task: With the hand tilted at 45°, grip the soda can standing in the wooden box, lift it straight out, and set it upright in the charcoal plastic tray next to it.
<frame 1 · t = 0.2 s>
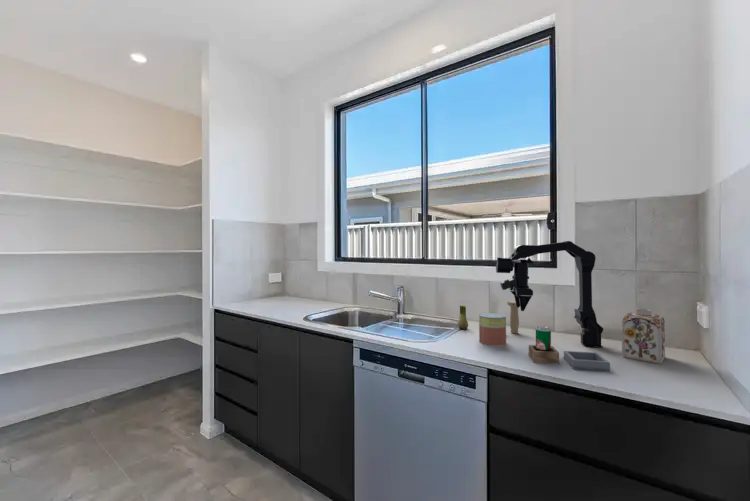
hand: (520, 309, 150), 14 cm above the worktop, tool pointing down, fingers open, 9 cm apart
fennel bulb: (463, 329, 176), on the worktop
decorative jar: (643, 357, 128), on the worktop
handle: (514, 333, 166), on the worktop
canned food: (492, 343, 149), on the worktop
tray: (585, 364, 120), on the worktop
wooden box: (543, 359, 126), on the worktop
soda can: (543, 360, 126), resting in wooden box
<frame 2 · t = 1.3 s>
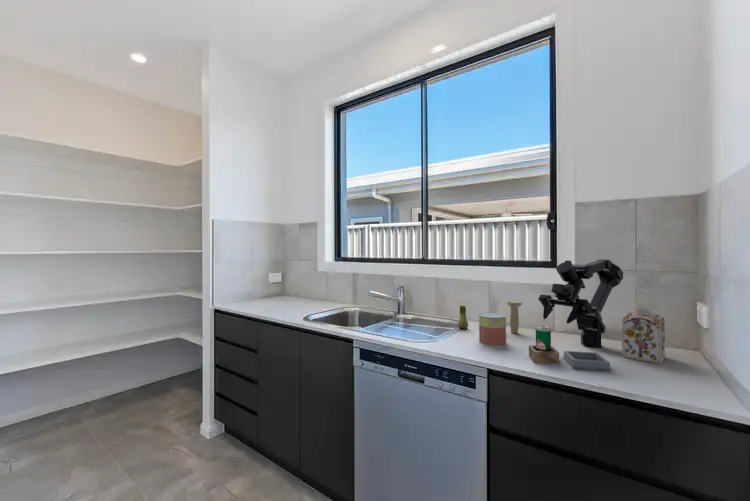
hand: (555, 320, 130), 13 cm above the worktop, tool tilted 45°, fingers open, 9 cm apart
nothing on the worktop moved.
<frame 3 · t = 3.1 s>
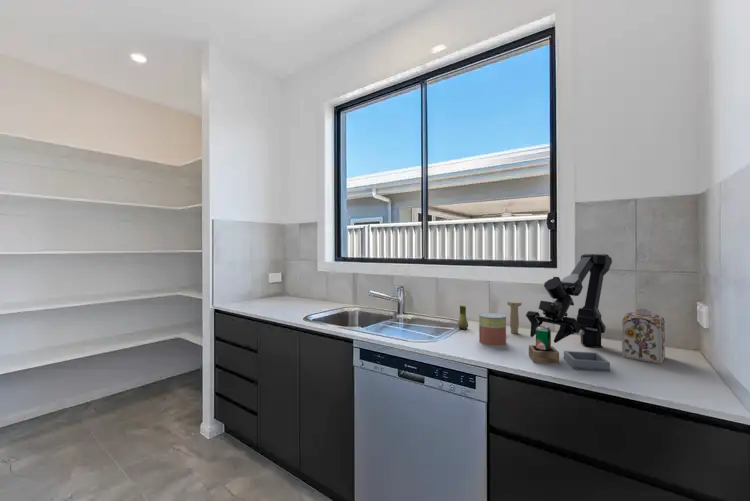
hand: (542, 339, 126), 8 cm above the worktop, tool tilted 45°, fingers open, 9 cm apart
nothing on the worktop moved.
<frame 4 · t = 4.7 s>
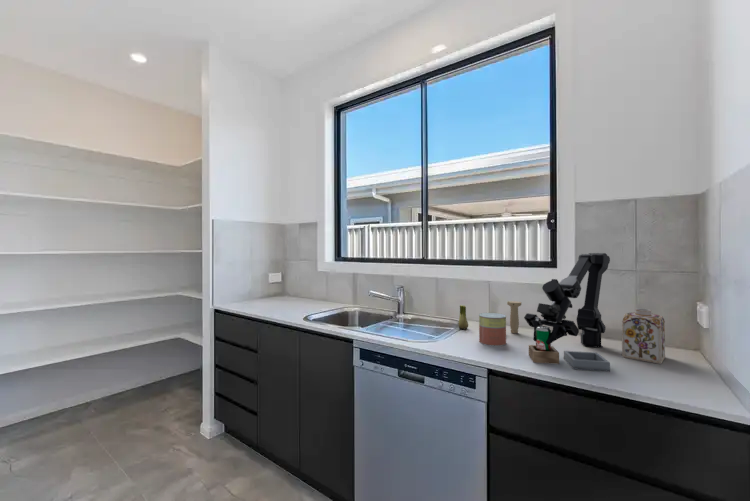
hand: (540, 342, 126), 7 cm above the worktop, tool tilted 45°, fingers closed on soda can, 5 cm apart
soda can: (543, 359, 126), resting in wooden box, touching gripper
everything else where it was.
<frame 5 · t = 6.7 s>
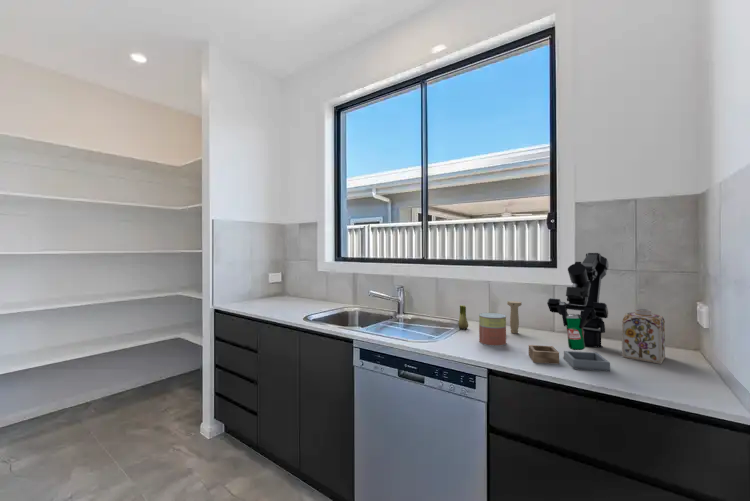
hand: (572, 326, 121), 13 cm above the worktop, tool tilted 45°, fingers closed on soda can, 5 cm apart
soda can: (576, 349, 121), point 5 cm above the worktop, touching gripper
everything else where it was.
when the fingers open (9 cm above the worktop, at t = 8.8 s): soda can stays where it is, resting on tray.
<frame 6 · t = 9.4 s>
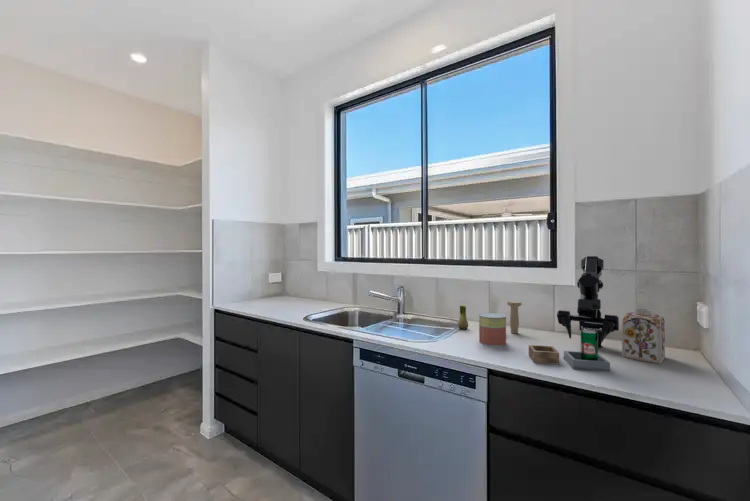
hand: (585, 339, 119), 9 cm above the worktop, tool tilted 45°, fingers open, 9 cm apart
soda can: (589, 363, 120), point 1 cm above the worktop, touching tray
everything else where it was.
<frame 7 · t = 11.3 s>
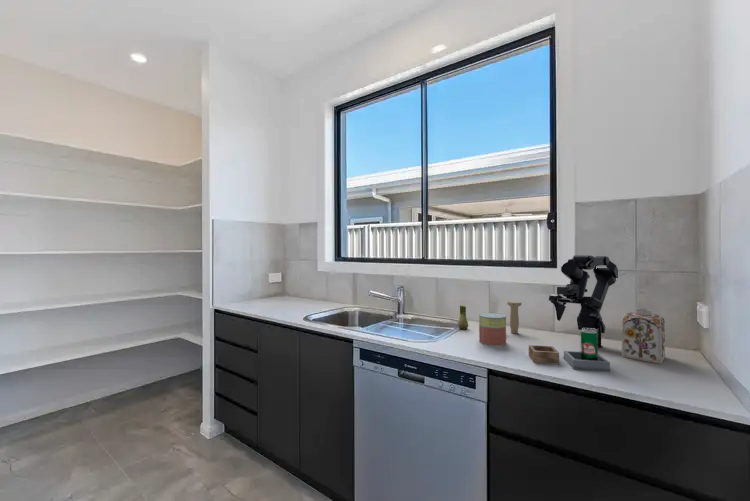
hand: (568, 321, 133), 12 cm above the worktop, tool tilted 25°, fingers open, 9 cm apart
nothing on the worktop moved.
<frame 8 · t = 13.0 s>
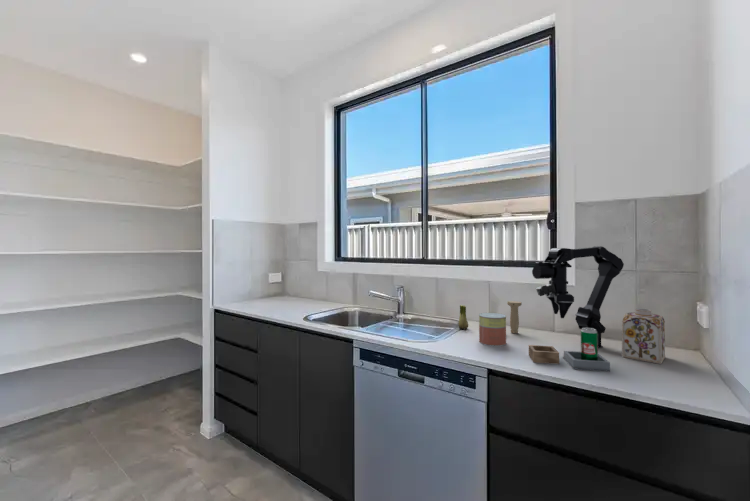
hand: (558, 316, 141), 13 cm above the worktop, tool pointing down, fingers open, 9 cm apart
nothing on the worktop moved.
at the end: soda can 1.1 cm off-centre on the tray, point 0.6 cm above the tray's base; soda can tilted 0°; the gripper is holding nothing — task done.
